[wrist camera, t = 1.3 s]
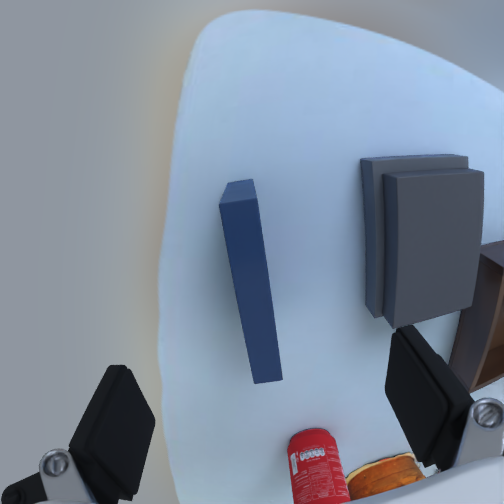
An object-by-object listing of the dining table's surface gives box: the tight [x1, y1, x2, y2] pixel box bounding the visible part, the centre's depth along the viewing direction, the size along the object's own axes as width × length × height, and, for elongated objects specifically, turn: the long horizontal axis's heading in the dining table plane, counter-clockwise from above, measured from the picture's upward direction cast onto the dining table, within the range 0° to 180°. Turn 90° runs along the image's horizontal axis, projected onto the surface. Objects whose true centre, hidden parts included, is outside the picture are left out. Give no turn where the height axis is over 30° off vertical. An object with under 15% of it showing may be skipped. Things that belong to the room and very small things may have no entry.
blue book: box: [219, 179, 283, 384], centre depth 18 cm, size 10×2×7 cm, turn 9°
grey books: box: [361, 154, 484, 329], centre depth 19 cm, size 11×8×4 cm
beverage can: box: [287, 428, 351, 504], centre depth 23 cm, size 5×5×12 cm
